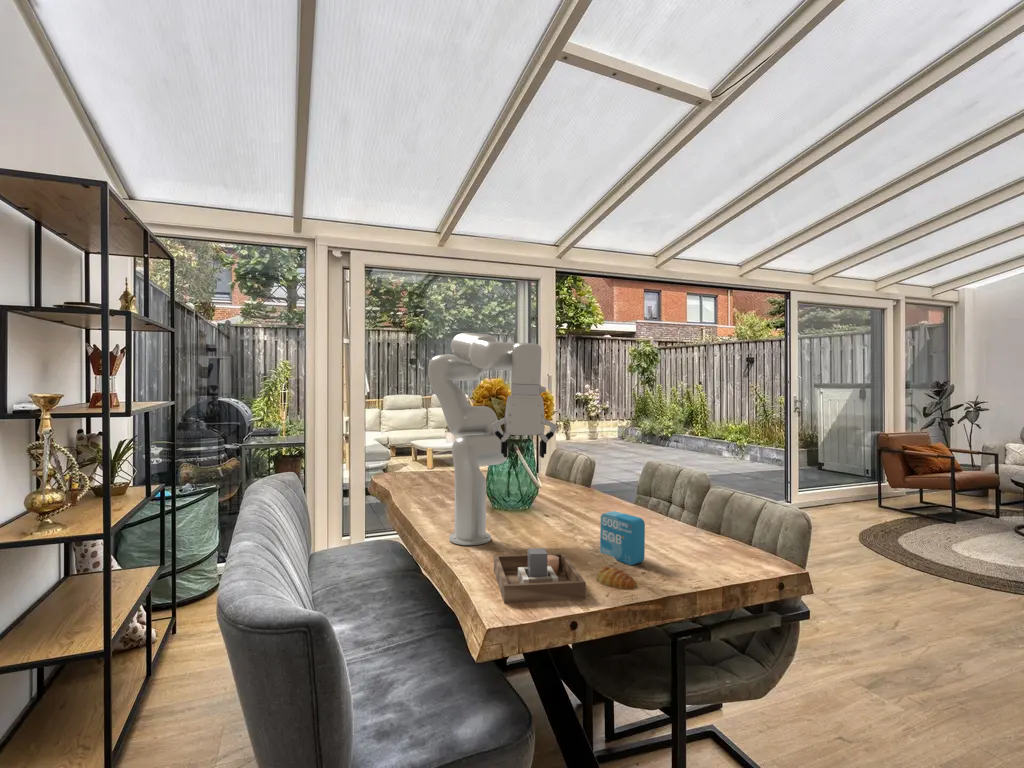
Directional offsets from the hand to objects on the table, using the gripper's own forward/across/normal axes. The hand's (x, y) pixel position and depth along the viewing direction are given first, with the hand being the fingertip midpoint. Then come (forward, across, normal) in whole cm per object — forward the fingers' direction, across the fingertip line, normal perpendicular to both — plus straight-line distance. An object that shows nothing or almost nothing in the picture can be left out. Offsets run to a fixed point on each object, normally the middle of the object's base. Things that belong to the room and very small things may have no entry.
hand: (523, 456), depth 140 cm
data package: (+29, -29, -3) cm, 41 cm away
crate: (+28, -2, +15) cm, 32 cm away
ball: (+28, -6, +9) cm, 30 cm away
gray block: (+27, -2, +16) cm, 32 cm away
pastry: (+28, -21, +15) cm, 38 cm away
